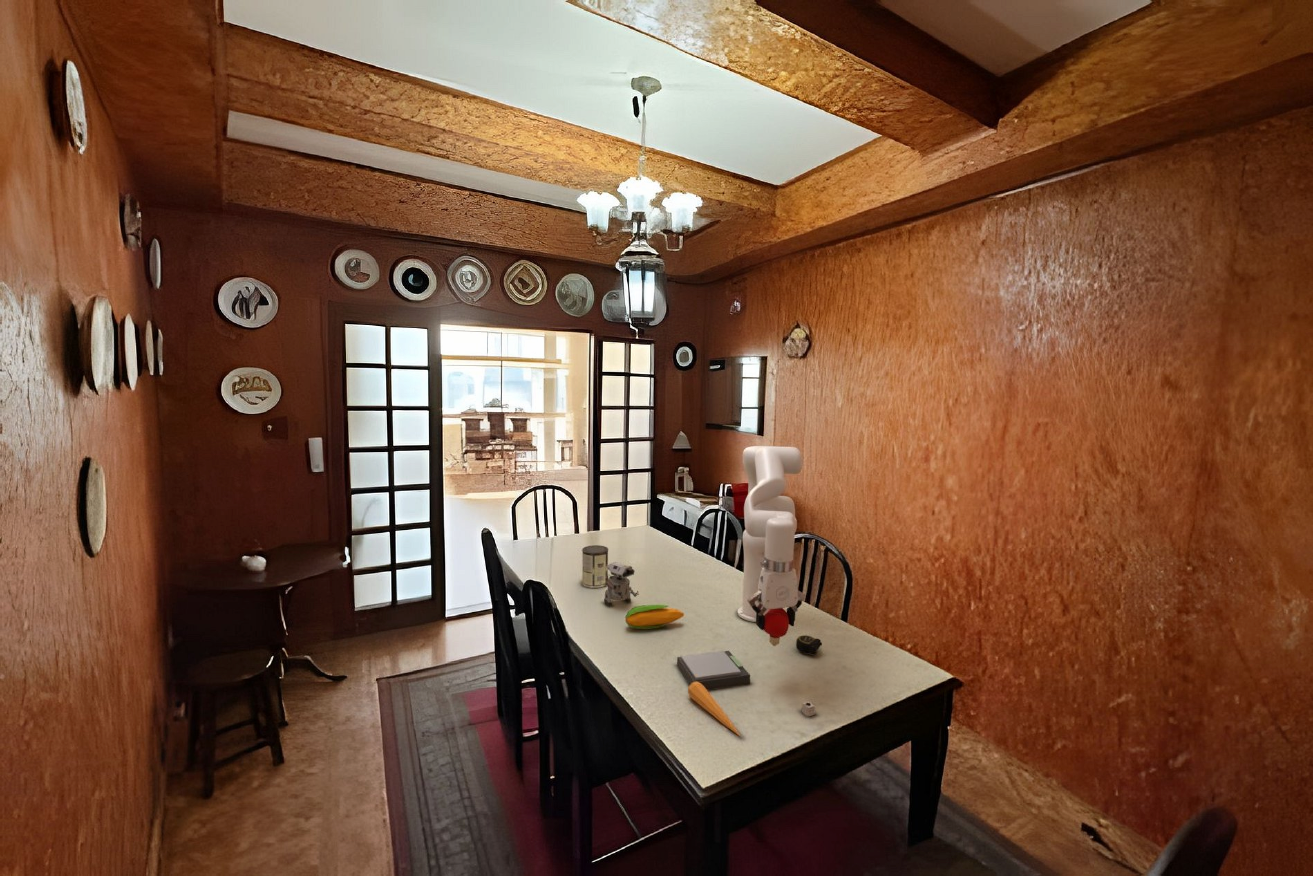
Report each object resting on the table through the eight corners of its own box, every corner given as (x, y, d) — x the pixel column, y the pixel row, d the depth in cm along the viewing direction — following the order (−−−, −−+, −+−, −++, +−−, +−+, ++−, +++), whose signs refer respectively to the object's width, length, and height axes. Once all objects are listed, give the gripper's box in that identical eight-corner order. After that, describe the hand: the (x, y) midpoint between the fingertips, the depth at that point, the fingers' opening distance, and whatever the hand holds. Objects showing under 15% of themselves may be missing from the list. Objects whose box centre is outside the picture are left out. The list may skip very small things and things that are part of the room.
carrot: (687, 698, 144) (683, 685, 142) (701, 688, 145) (697, 675, 144) (735, 750, 127) (731, 736, 125) (750, 738, 129) (746, 724, 127)
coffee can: (592, 577, 228) (593, 543, 227) (613, 582, 223) (613, 548, 222) (576, 584, 220) (576, 549, 218) (596, 590, 214) (597, 554, 213)
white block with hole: (801, 712, 138) (802, 702, 138) (808, 710, 139) (808, 700, 139) (807, 716, 136) (808, 707, 136) (814, 714, 137) (815, 704, 137)
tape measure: (814, 659, 165) (815, 647, 164) (792, 652, 168) (793, 640, 168) (821, 650, 170) (822, 638, 170) (799, 643, 174) (800, 632, 174)
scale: (728, 658, 164) (728, 648, 163) (749, 683, 150) (750, 672, 150) (677, 665, 159) (677, 654, 159) (694, 691, 146) (694, 679, 145)
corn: (623, 602, 184) (680, 597, 189) (622, 623, 185) (679, 618, 190) (628, 613, 176) (687, 607, 182) (627, 635, 178) (686, 628, 183)
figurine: (615, 613, 194) (616, 571, 192) (602, 601, 204) (602, 561, 202) (638, 608, 198) (639, 567, 197) (624, 597, 208) (625, 558, 207)
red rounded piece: (780, 656, 146) (782, 620, 145) (755, 648, 150) (757, 613, 149) (792, 641, 154) (794, 607, 153) (768, 635, 158) (769, 601, 156)
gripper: (755, 572, 143) (752, 636, 145) (814, 566, 148) (810, 628, 150) (742, 562, 150) (740, 623, 152) (799, 557, 155) (796, 616, 157)
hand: (775, 625), depth 151 cm, fingers closed on red rounded piece, 8 cm apart
